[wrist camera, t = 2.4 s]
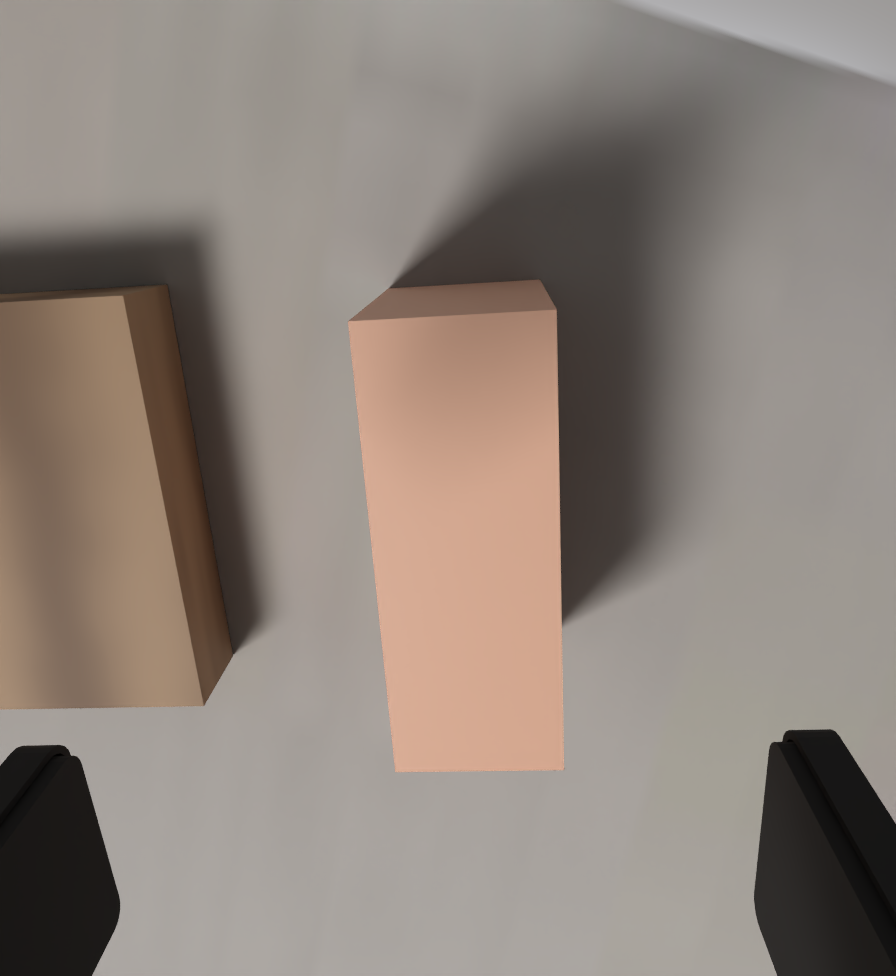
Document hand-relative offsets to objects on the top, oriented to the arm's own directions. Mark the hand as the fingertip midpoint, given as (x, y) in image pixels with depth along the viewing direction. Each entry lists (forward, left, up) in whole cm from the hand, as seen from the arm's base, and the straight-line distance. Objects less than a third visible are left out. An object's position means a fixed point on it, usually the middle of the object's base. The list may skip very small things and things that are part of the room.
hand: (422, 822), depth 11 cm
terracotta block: (0, 0, -16) cm, 16 cm away
